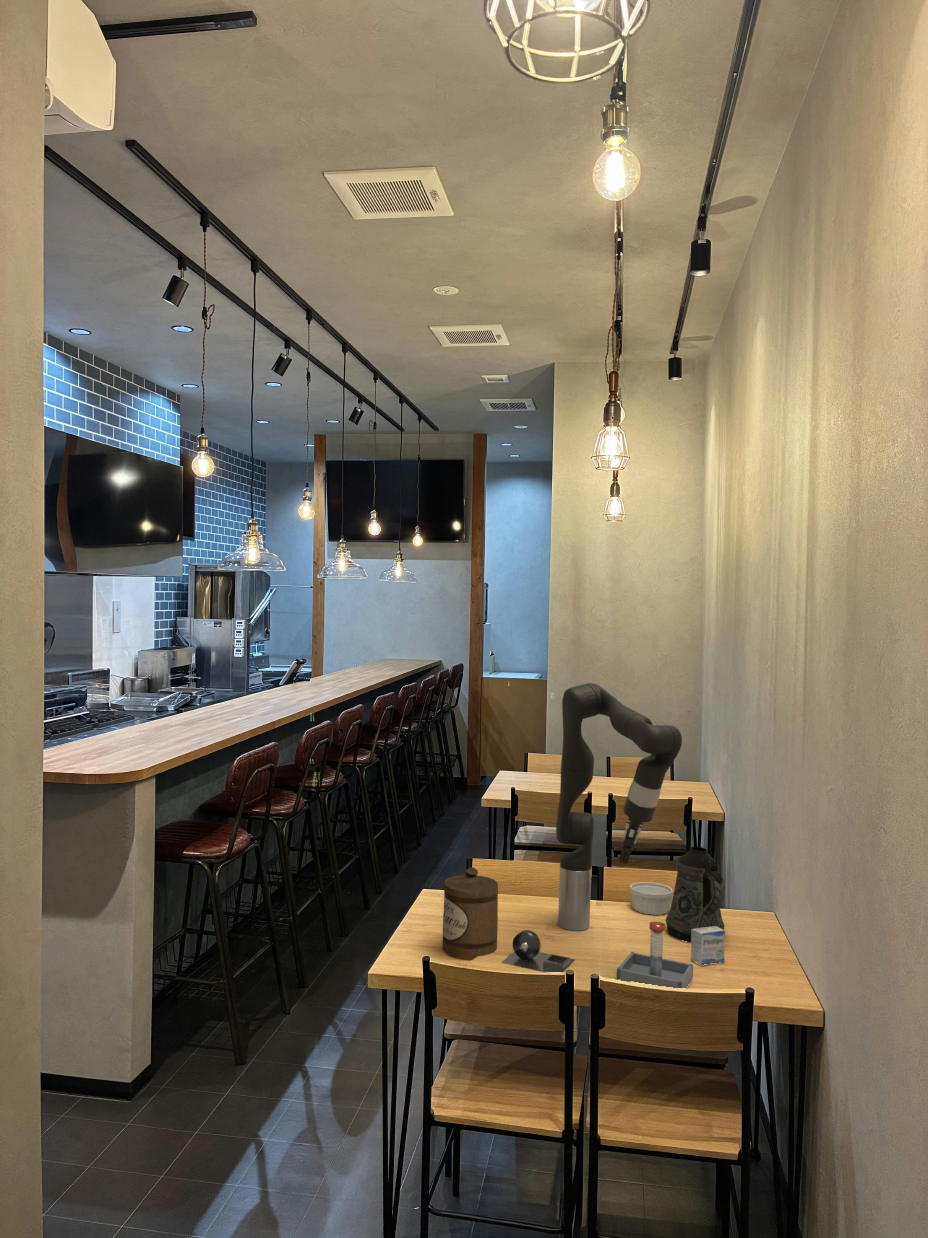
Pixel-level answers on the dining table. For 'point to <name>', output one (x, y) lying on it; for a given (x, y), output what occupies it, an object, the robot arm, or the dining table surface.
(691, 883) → the beer stein
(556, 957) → the pin socket base
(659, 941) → the pin
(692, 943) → the medicine box
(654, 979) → the tray
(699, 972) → the dining table surface
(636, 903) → the ramekin
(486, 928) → the wooden container
